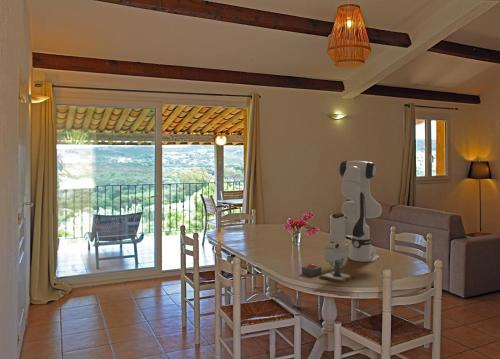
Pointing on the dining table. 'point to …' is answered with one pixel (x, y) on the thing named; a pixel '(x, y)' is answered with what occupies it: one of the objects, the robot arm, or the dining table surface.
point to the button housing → (311, 270)
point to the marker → (337, 267)
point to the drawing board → (336, 277)
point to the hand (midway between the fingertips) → (337, 267)
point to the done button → (311, 265)
